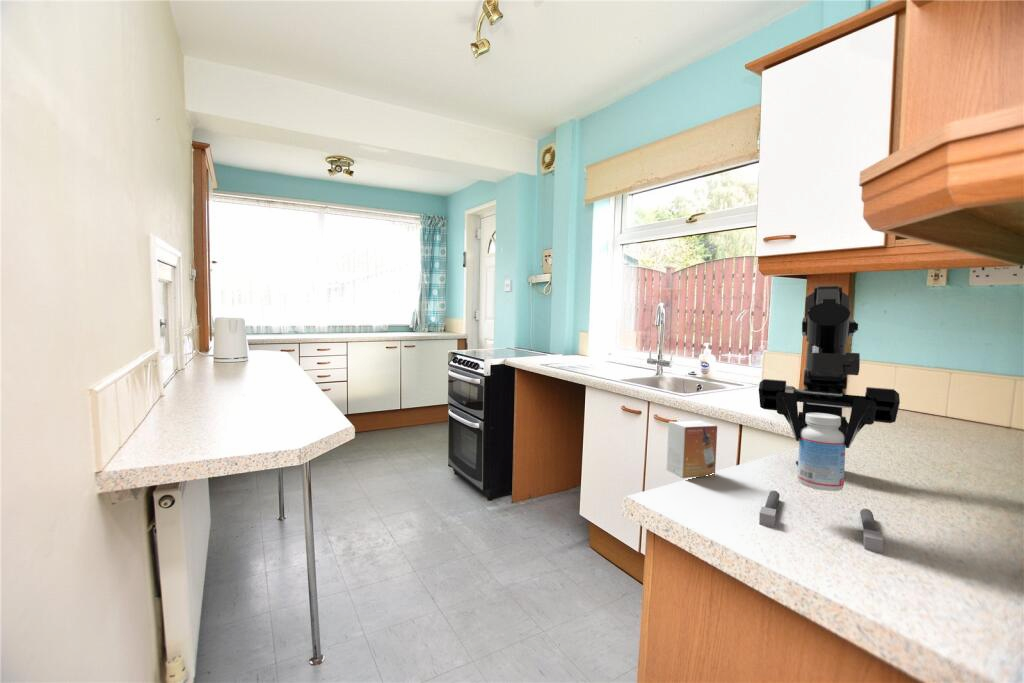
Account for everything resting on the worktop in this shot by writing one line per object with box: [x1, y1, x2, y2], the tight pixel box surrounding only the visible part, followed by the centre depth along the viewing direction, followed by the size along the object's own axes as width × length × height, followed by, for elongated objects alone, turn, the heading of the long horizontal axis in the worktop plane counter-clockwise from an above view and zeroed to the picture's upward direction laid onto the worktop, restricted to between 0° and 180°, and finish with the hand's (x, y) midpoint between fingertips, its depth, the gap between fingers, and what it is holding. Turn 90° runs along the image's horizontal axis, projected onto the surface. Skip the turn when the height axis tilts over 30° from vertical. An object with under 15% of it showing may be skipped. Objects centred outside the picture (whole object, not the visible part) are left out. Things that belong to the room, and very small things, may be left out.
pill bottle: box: [797, 413, 846, 492], centre depth 72 cm, size 6×6×11 cm
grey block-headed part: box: [859, 508, 884, 554], centre depth 68 cm, size 13×2×2 cm, turn 145°
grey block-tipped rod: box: [758, 490, 780, 528], centre depth 75 cm, size 13×2×2 cm, turn 145°
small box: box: [666, 419, 718, 479], centre depth 94 cm, size 8×6×10 cm
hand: (821, 442), depth 71 cm, fingers closed on pill bottle, 6 cm apart
